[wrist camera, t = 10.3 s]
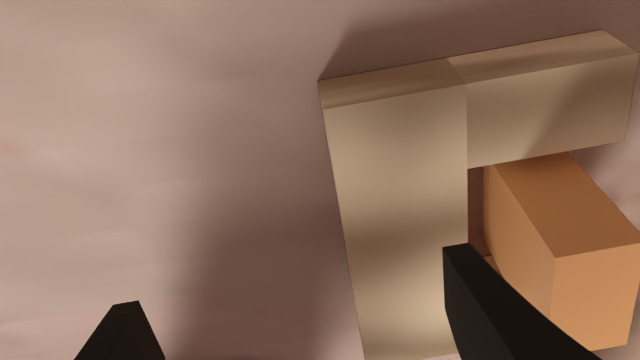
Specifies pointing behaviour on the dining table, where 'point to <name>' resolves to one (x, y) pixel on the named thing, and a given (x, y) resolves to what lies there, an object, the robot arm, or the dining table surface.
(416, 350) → the notched board
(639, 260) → the orange brown rectangular block
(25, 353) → the dining table surface
